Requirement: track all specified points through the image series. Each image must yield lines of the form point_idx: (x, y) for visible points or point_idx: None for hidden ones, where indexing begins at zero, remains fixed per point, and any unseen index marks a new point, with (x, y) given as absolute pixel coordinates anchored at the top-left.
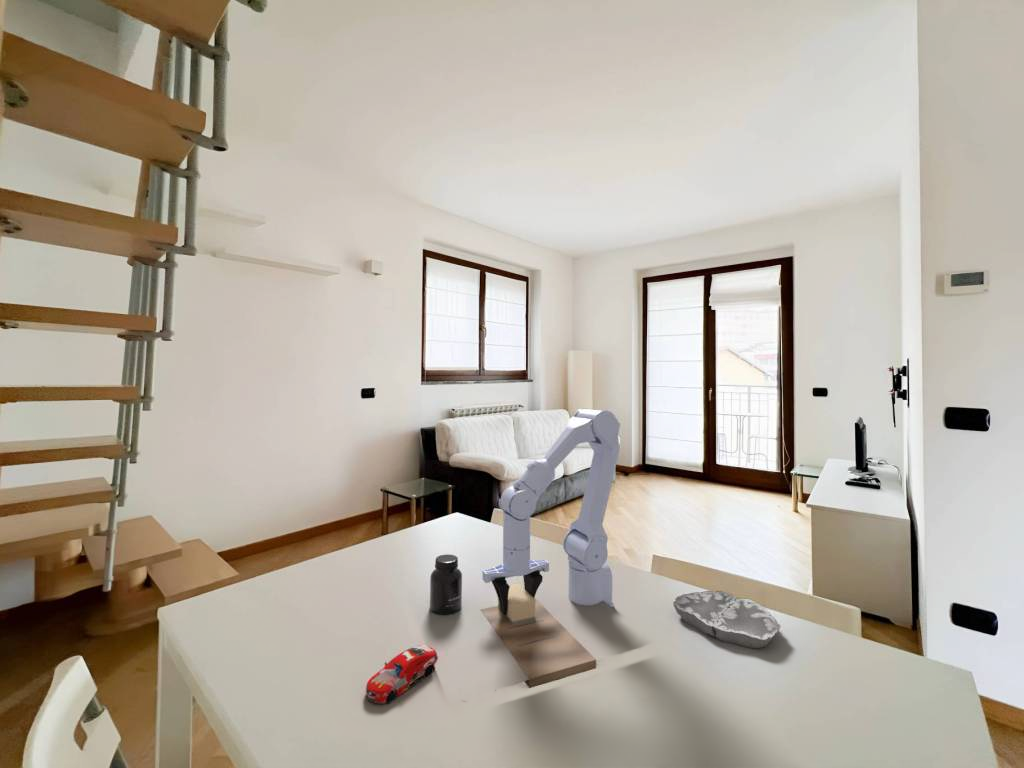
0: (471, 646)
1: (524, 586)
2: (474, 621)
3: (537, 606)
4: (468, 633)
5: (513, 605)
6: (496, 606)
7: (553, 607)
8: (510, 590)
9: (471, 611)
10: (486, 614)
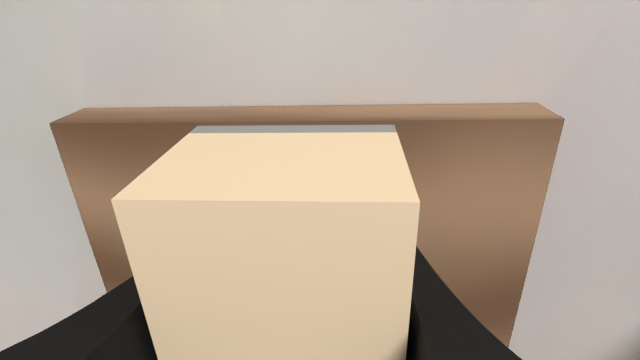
0: (33, 331)
1: (423, 331)
2: (43, 147)
3: (488, 244)
4: (12, 244)
5: None
6: (182, 127)
7: (633, 189)
8: (241, 307)
9: (17, 5)
10: (91, 202)
